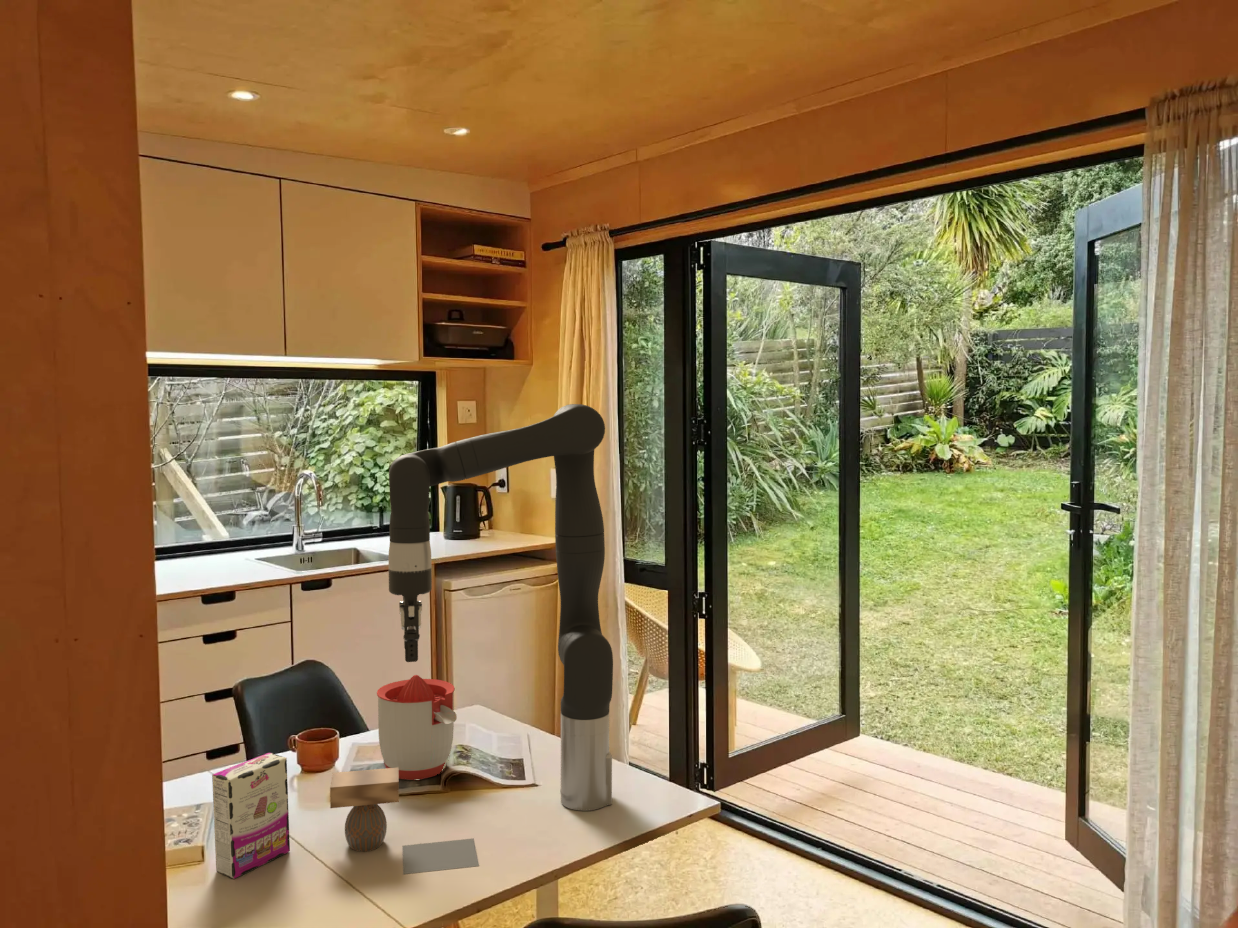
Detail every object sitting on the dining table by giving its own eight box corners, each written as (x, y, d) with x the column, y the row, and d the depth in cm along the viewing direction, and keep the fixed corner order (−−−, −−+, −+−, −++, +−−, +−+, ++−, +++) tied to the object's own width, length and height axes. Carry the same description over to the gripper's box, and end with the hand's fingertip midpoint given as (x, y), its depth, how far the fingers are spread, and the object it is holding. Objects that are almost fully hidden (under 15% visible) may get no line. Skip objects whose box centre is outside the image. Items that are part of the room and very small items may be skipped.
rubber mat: (473, 841, 164) (473, 838, 164) (479, 869, 155) (479, 865, 155) (402, 848, 162) (402, 845, 161) (403, 877, 152) (403, 873, 152)
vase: (375, 859, 158) (375, 807, 157) (337, 854, 159) (336, 803, 159) (393, 840, 165) (393, 790, 164) (356, 836, 166) (356, 787, 166)
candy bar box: (271, 844, 163) (269, 750, 162) (290, 852, 160) (289, 756, 159) (213, 872, 153) (210, 772, 152) (232, 880, 151) (230, 779, 150)
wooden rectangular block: (398, 786, 166) (398, 767, 166) (398, 801, 160) (398, 781, 159) (332, 792, 163) (332, 772, 163) (330, 808, 157) (330, 787, 157)
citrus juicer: (425, 793, 184) (424, 692, 183) (361, 775, 193) (359, 678, 192) (477, 767, 198) (477, 672, 196) (415, 751, 207) (414, 660, 205)
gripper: (433, 572, 164) (434, 664, 166) (429, 558, 178) (430, 644, 179) (388, 573, 163) (389, 667, 164) (388, 560, 177) (389, 646, 178)
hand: (411, 655), depth 172 cm, fingers open, 8 cm apart
